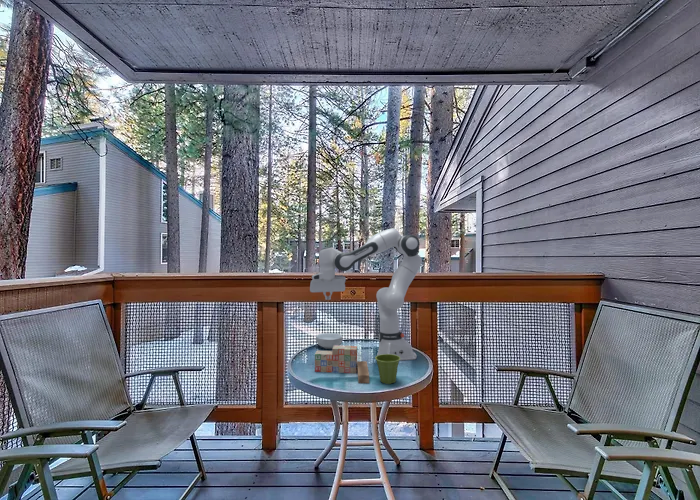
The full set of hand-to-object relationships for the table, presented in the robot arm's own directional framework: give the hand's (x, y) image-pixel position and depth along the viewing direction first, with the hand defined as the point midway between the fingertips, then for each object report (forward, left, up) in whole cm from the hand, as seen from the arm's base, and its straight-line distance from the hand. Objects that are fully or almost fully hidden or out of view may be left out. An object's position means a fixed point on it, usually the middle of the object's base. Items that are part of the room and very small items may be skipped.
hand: (328, 299), depth 203 cm
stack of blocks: (-5, +21, -33) cm, 40 cm away
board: (-19, +28, -33) cm, 48 cm away
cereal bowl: (+1, -20, -33) cm, 39 cm away
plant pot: (-30, +36, -33) cm, 58 cm away
